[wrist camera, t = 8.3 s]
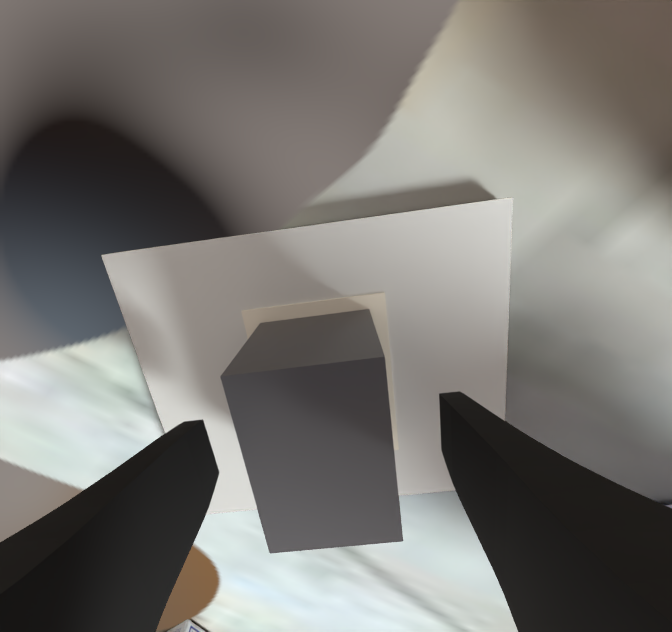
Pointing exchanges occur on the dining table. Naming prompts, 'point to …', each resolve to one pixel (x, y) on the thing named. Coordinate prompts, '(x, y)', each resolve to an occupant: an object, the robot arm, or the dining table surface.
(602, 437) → the dining table surface
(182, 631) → the medicine box
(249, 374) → the block
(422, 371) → the board
